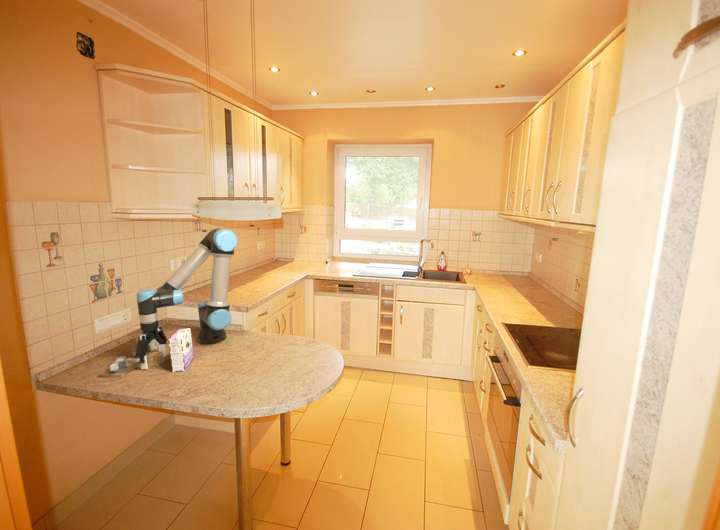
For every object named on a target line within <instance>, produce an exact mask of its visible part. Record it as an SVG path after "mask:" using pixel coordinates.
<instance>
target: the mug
mask: <svg viewBox="0 0 720 530" xmlns="http://www.w3.org/2000/svg"><path fill="white" fill-rule="evenodd" d="M139 335H143V331H141V332H140V333H139V334H137V336H136V342H137V343H138V336H139ZM145 341H147V340H145ZM158 345H159V343H158V342H157V341H156V340H155V339H153V340H152V341H151V342H150V343H149V346H150V348H151V351H155V350H157V349H159V346H158Z"/></svg>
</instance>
